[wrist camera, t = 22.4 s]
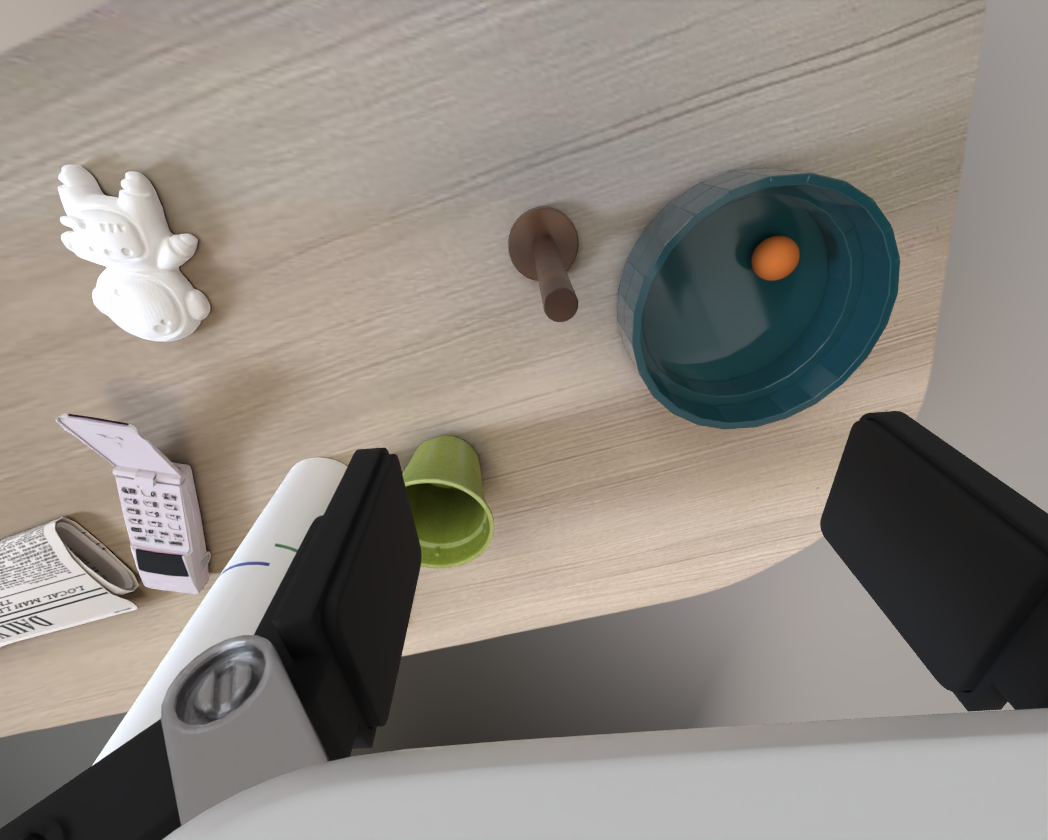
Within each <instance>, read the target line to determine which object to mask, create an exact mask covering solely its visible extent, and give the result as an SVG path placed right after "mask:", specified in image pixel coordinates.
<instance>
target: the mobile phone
mask: <svg viewBox="0 0 1048 840" xmlns="http://www.w3.org/2000/svg"><path fill="white" fill-rule="evenodd" d="M55 421H56V422H58V423H59V424H60V425H61V427H62V428H63V429H65V430H66V431H67V432H69V433H70V434H73V435H74V436H75V437H77V438H78V439H79V440H81V441H82V442H83V443H85V444H86V445H87V446H89V447H90V448H91V449H93V450H94V451H95V452H96V453H98V454H99V455H100V456H102V457H103V458H104V459H106V460H107V461H108V462H110V463H111V464H112V465H114V466H115V467H114V469H113V475H116V476H115V478H116V482H117V487H118V491H119V496H120V501H121V505H122V510H123V515H124V519H125V523H126V527H127V531H128V535H129V539H130V547H131V550H132V554H133V557H134V560H135V564H136V567H137V570H138V572H139V574H140V577H141V579H142V581H143V584H144V586H146V587H148V588H151V589H159V590H163V591H165V592H168V591H175V592H183V593H190V594H199V593H200V591H201V590H202V589H203V588H204V586H205V585H206V584H207V582H208V580H209V575H208V563H209V561H210V558H211V554H210V552H209V551H206V546H205V540H204V533H203V527H202V521H201V515H200V510H199V505H198V500H197V495H196V490H195V485H194V480H193V475H192V470H191V467H190V466H189V465H186V464H179V463H173V462H171V461H170V460H169V459H168V458H167V457H166V456H165V455H164V454H163V453H162V452H161V451H160V450H159V449H158V448H157V447H156V446H155V445H154V444H153V443H152V442H150V441H149V440H148V439H147V438H146V437H145V436H144V435H143V434H142V433H141V432H139V431H138V430H137V429H136V428H135V427H134V426H133V425H131V424H127V423H122V422H116V421H110V420H104V419H99V418H93V417H86V416H79V415H72V414H63V415H61V416H59V417H57V418H56V420H55Z"/></svg>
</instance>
